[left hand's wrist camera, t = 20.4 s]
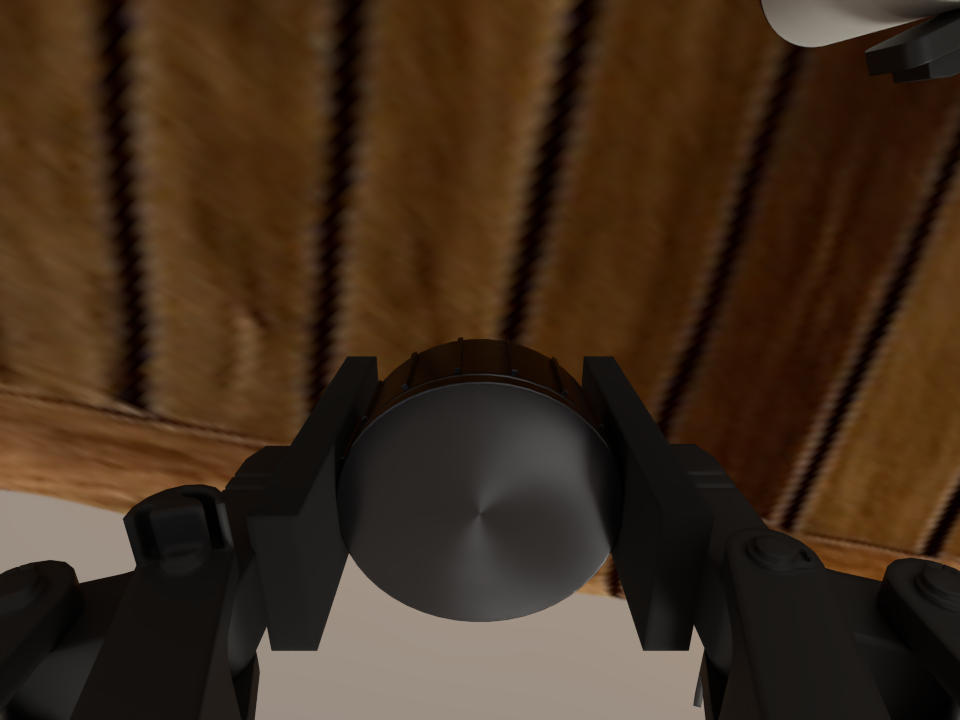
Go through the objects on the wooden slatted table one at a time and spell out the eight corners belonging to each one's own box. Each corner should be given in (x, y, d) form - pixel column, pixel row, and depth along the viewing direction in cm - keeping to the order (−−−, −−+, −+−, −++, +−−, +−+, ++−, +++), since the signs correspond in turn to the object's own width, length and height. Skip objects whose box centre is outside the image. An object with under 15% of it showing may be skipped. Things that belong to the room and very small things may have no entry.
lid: (333, 514, 13) (303, 587, 11) (392, 300, 11) (370, 336, 9) (549, 571, 14) (562, 650, 11) (641, 377, 12) (678, 430, 9)
